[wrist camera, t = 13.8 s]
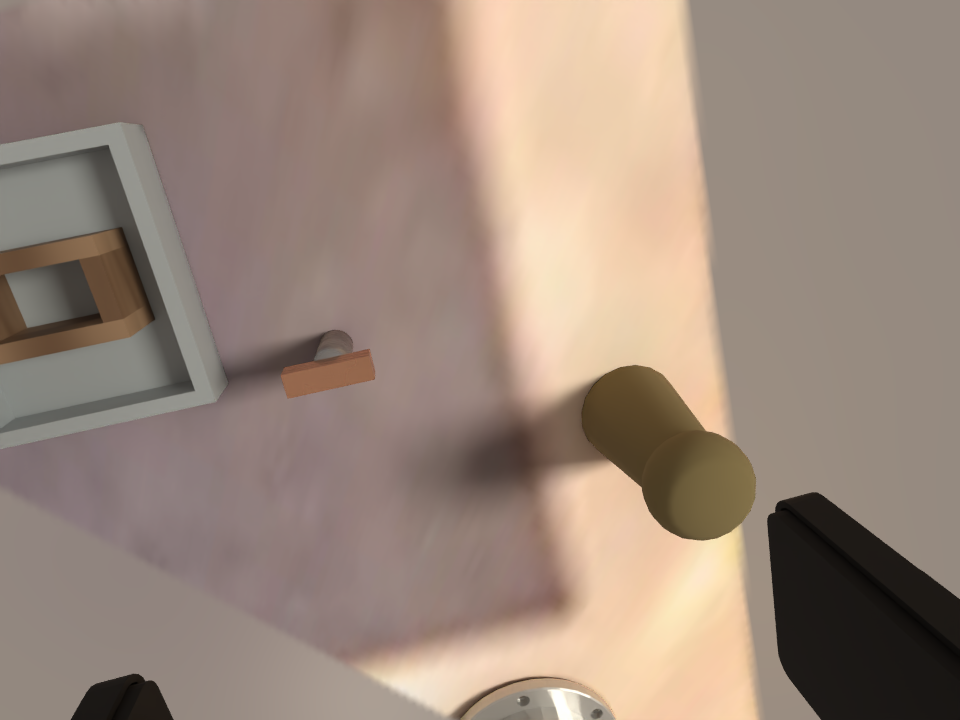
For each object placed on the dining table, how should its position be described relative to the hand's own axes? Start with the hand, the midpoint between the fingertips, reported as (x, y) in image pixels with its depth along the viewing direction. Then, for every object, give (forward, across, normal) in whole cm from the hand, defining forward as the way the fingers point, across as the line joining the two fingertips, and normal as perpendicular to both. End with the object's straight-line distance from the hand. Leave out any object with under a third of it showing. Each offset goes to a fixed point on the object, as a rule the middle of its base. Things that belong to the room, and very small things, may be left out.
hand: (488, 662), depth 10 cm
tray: (+28, +17, -5) cm, 33 cm away
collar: (+27, +17, -5) cm, 32 cm away
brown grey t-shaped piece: (+28, +5, +2) cm, 28 cm away
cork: (+28, -11, +10) cm, 32 cm away
